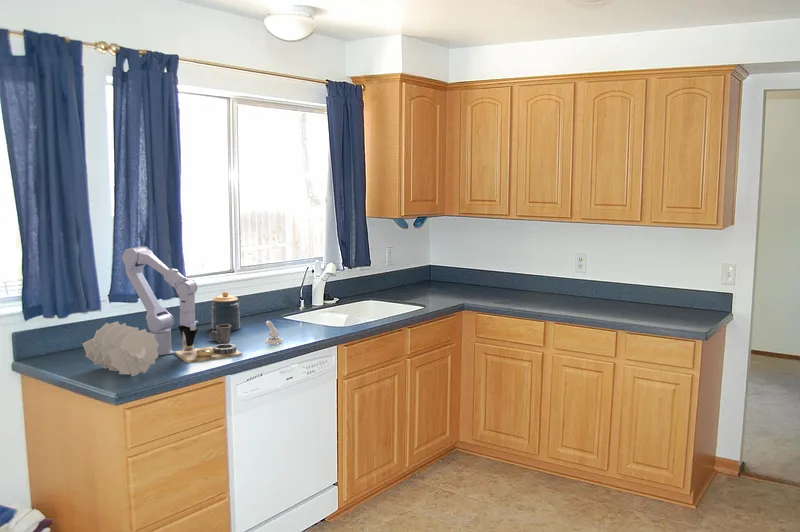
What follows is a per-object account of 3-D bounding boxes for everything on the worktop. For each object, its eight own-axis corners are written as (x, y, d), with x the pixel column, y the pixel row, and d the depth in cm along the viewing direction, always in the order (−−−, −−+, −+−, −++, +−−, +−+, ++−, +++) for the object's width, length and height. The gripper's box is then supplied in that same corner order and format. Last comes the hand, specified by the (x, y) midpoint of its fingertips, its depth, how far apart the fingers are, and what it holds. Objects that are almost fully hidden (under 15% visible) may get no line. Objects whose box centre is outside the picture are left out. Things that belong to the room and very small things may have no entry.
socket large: (217, 355, 273) (217, 350, 273) (209, 350, 280) (209, 345, 280) (239, 352, 278) (239, 347, 278) (231, 347, 285) (231, 342, 285)
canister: (244, 329, 322) (243, 292, 320) (217, 333, 315) (216, 294, 312) (234, 324, 333) (233, 288, 330) (207, 327, 325) (206, 290, 323)
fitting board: (186, 363, 265) (186, 360, 265) (174, 353, 278) (174, 351, 278) (242, 355, 277) (241, 353, 277) (227, 346, 290) (227, 344, 290)
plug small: (199, 358, 268) (199, 353, 268) (194, 355, 273) (194, 349, 273) (214, 356, 271) (214, 351, 271) (209, 353, 276) (209, 347, 276)
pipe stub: (184, 351, 273) (184, 331, 272) (181, 349, 277) (181, 329, 276) (194, 350, 276) (194, 330, 274) (191, 347, 279) (191, 328, 278)
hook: (253, 333, 294) (259, 321, 299) (267, 352, 300) (273, 340, 305) (267, 331, 291) (273, 319, 296) (281, 350, 297) (287, 338, 302)
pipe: (217, 339, 304) (217, 321, 303) (235, 344, 296) (235, 325, 295) (205, 341, 299) (205, 323, 298) (223, 346, 291) (223, 327, 290)
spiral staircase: (116, 373, 264) (154, 383, 249) (74, 362, 251) (111, 371, 236) (132, 327, 269) (170, 334, 253) (91, 314, 255) (129, 320, 240)
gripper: (203, 313, 270) (204, 347, 272) (191, 307, 282) (192, 339, 284) (185, 315, 266) (185, 349, 268) (174, 308, 278) (175, 341, 280)
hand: (188, 344), depth 276 cm, fingers closed on pipe stub, 4 cm apart
